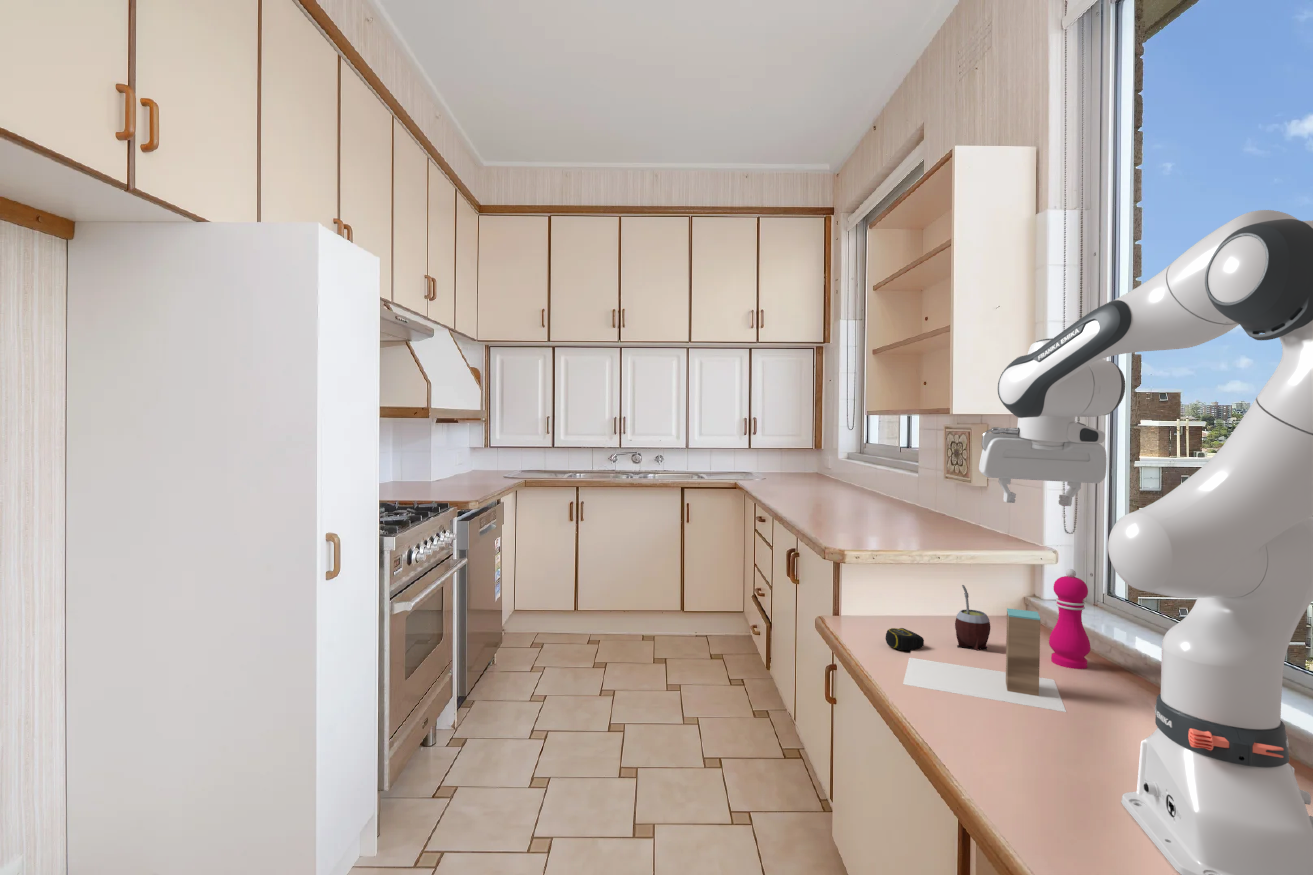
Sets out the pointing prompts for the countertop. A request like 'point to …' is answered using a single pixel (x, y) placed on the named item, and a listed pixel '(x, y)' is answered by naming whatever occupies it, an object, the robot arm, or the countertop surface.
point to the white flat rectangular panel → (978, 683)
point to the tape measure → (903, 639)
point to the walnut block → (1023, 651)
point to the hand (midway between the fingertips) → (1036, 503)
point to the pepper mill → (1070, 623)
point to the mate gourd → (972, 628)
